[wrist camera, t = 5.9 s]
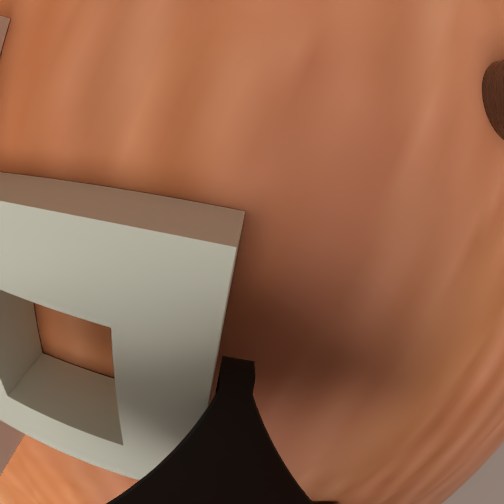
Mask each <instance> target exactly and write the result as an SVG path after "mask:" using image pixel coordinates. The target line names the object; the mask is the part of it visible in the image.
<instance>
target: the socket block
mask: <svg viewBox="0 0 504 504" xmlns="http://www.w3.org/2000/svg"><path fill="white" fill-rule="evenodd" d="M244 216H245V211H241V210H236V209H231V208H226V207H220V206H215V205H210V204H204V203H199V202H194V201H188V200H183V199H177V198H171V197H166V196H160V195H154V194H148V193H142V192H136V191H130V190H124V189H118V188H112V187H105V186H99V185H92V184H86V183H79V182H72V181H65V180H58V179H51V178H43V177H36V176H28V175H20V174H12V173H4V172H0V420H1V421H3V422H5V423H6V424H8V425H10V426H12V427H13V428H15V429H17V430H19V431H21V432H22V433H24V434H26V435H28V436H30V437H32V438H34V439H36V440H38V441H40V442H42V443H44V444H46V445H48V446H50V447H52V448H54V449H57V450H59V451H61V452H63V453H65V454H68V455H70V456H72V457H75V458H77V459H80V460H82V461H85V462H87V463H90V464H92V465H95V466H98V467H101V468H103V469H106V470H109V471H112V472H115V473H118V474H121V475H124V476H127V477H130V478H134V479H137V480H140V479H142V478H143V477H144V476H146V475H147V474H148V473H149V472H150V471H152V470H153V469H154V468H155V467H156V466H157V465H158V464H159V463H160V462H161V461H162V460H163V459H164V458H166V457H167V456H168V455H169V454H170V453H171V452H172V451H173V450H174V449H175V447H176V446H177V445H178V444H179V443H180V442H181V441H182V440H183V439H184V438H185V436H186V435H187V434H188V433H189V432H190V430H191V429H192V428H193V427H194V425H195V424H196V423H197V421H198V420H199V419H200V417H201V416H202V414H203V413H204V412H205V410H206V409H207V407H208V406H209V401H210V396H211V390H212V385H213V379H214V374H215V368H216V363H217V357H218V352H219V346H220V341H221V335H222V330H223V325H224V319H225V314H226V309H227V303H228V298H229V293H230V287H231V282H232V277H233V272H234V267H235V261H236V256H237V251H238V246H239V241H240V236H241V231H242V226H243V221H244ZM33 302H34V303H37V304H39V305H42V306H45V307H48V308H51V309H54V310H56V311H59V312H62V313H65V314H68V315H71V316H75V317H78V318H81V319H84V320H87V321H90V322H94V323H97V324H100V325H104V326H107V327H111V336H112V352H113V366H114V377H115V379H113V378H110V377H107V376H104V375H101V374H98V373H95V372H92V371H89V370H86V369H83V368H81V367H78V366H75V365H72V364H70V363H67V362H64V361H62V360H59V359H57V358H54V357H52V356H49V355H47V354H44V353H43V352H42V348H41V343H40V338H39V333H38V328H37V322H36V316H35V310H34V304H33Z"/></svg>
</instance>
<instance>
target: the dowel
mask: <svg viewBox="0 0 504 504" xmlns="http://www.w3.org/2000/svg"><path fill="white" fill-rule="evenodd" d="M482 94H483V102H484V106H485V110H486V113H487V116H488V118H489V120H490V123H491V124H492V126H493V128H494V129H495V131H496V132H497V133H498V135H499V136H500V137H501V138H502V139H503V140H504V60H502V61H497V62H494V63H492V64H491V65H490V66H489V67H488V68H487V70H486V72H485V74H484V78H483V84H482Z"/></svg>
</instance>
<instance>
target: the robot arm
mask: <svg viewBox="0 0 504 504" xmlns="http://www.w3.org/2000/svg"><path fill="white" fill-rule="evenodd" d="M254 382H255V366H254V362H253V361H247V360H242V359H236V358H231V357H226V356H223V357H222V362H221V367H220V372H219V377H218V382H217V388H216V393H215V396H214V398H213V399H212V401H211V403H210V404H209V406H208V407H207V409H206V410H205V412H204V413H203V414H202V416H201V417H200V419H199V420H198V421H197V423H196V424H195V425H194V427H193V428H192V429H191V430H190V432H189V433H188V434H187V435H186V436H185V438H184V439H183V440H182V441H181V442H180V443H179V444H178V445H177V446H176V447H175V449H174V450H173V451H172V452H171V453H170V454H169V455H168V456H167V457H166V458H164V459H163V460H162V461H161V462H160V463H159V464H158V465H157V466H156V467H155V468H154V469H153V470H152V471H150V472H149V473H148V474H147V475H146V476H144V477H143V478H142V479H140V480H139V481H138V482H137V483H135V484H134V485H133V486H132V487H130V488H129V489H128V490H126V491H125V492H123V493H122V494H121V495H119V496H118V497H116V498H114V499H113V500H111V501H110V502H108V503H106V504H313V502H312V501H311V500H310V499H309V497H308V496H307V495H306V494H305V492H304V491H303V490H302V489H301V487H300V486H299V485H298V483H297V482H296V481H295V479H294V478H293V476H292V475H291V473H290V472H289V470H288V469H287V467H286V466H285V464H284V462H283V461H282V459H281V457H280V456H279V454H278V452H277V450H276V448H275V447H274V445H273V443H272V441H271V439H270V437H269V434H268V432H267V430H266V428H265V426H264V424H263V421H262V419H261V416H260V414H259V411H258V408H257V406H256V403H255V400H254V397H253V388H254Z"/></svg>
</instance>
